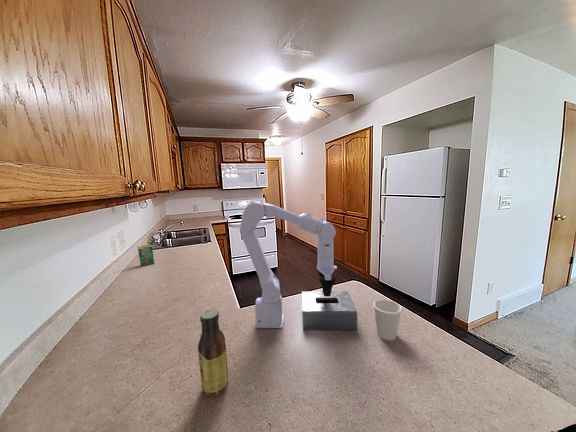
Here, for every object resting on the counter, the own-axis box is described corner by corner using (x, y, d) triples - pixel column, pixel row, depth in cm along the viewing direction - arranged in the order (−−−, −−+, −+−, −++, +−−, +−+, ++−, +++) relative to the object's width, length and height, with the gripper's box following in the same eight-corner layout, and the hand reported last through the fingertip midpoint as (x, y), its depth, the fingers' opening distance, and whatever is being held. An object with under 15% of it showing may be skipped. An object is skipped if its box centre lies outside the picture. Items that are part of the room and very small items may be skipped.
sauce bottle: (206, 377, 57) (200, 305, 55) (230, 375, 58) (225, 303, 55) (198, 402, 51) (190, 321, 48) (225, 399, 51) (220, 319, 49)
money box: (303, 330, 75) (302, 311, 74) (302, 308, 89) (301, 291, 88) (356, 330, 74) (357, 311, 73) (347, 308, 88) (347, 291, 87)
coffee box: (140, 266, 143) (137, 247, 142) (139, 265, 146) (137, 246, 144) (154, 264, 148) (152, 244, 146) (154, 262, 150) (152, 244, 149)
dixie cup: (379, 323, 77) (379, 296, 76) (404, 334, 72) (406, 305, 70) (368, 335, 72) (368, 306, 70) (395, 347, 66) (396, 316, 64)
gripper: (340, 261, 72) (340, 301, 73) (333, 249, 86) (333, 282, 88) (318, 261, 72) (319, 301, 74) (315, 249, 86) (315, 282, 88)
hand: (325, 290), depth 81 cm, fingers open, 7 cm apart
